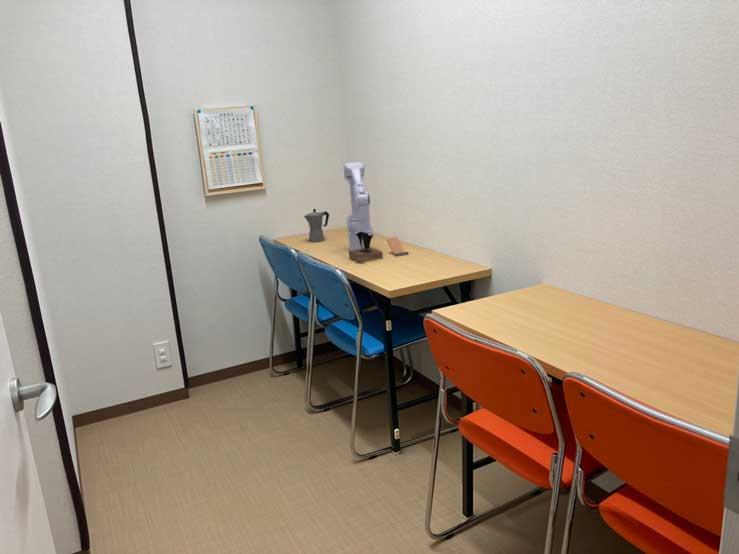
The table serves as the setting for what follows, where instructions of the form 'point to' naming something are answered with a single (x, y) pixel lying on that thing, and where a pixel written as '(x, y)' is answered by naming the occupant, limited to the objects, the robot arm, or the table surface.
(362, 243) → the steel peg
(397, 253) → the latch bracket
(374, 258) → the hitch block
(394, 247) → the latch flap
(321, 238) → the coffeepot
